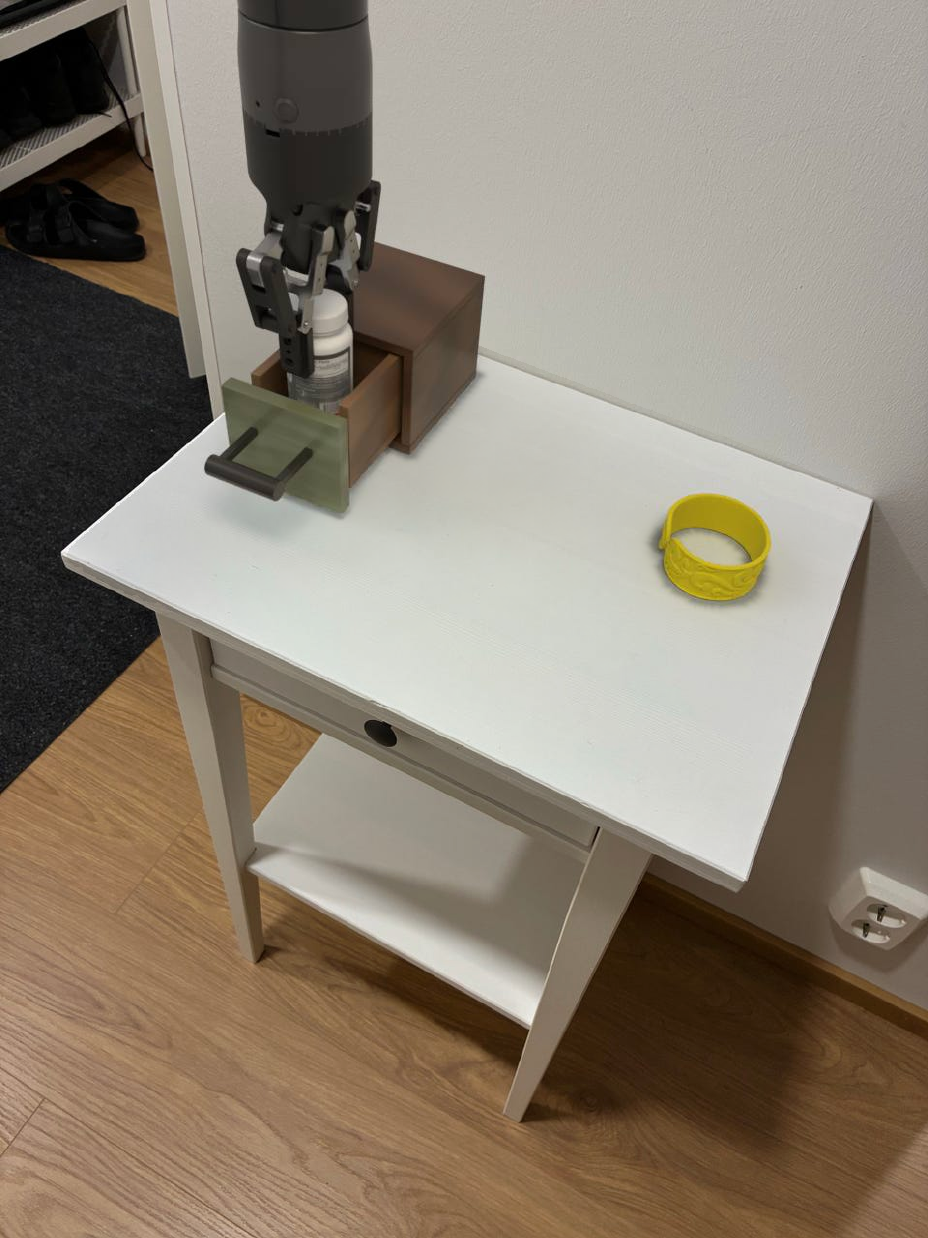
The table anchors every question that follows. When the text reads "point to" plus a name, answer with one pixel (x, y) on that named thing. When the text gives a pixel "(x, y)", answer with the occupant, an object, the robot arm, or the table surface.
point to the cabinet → (421, 331)
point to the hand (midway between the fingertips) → (318, 353)
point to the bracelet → (722, 518)
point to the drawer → (309, 431)
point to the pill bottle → (327, 355)
